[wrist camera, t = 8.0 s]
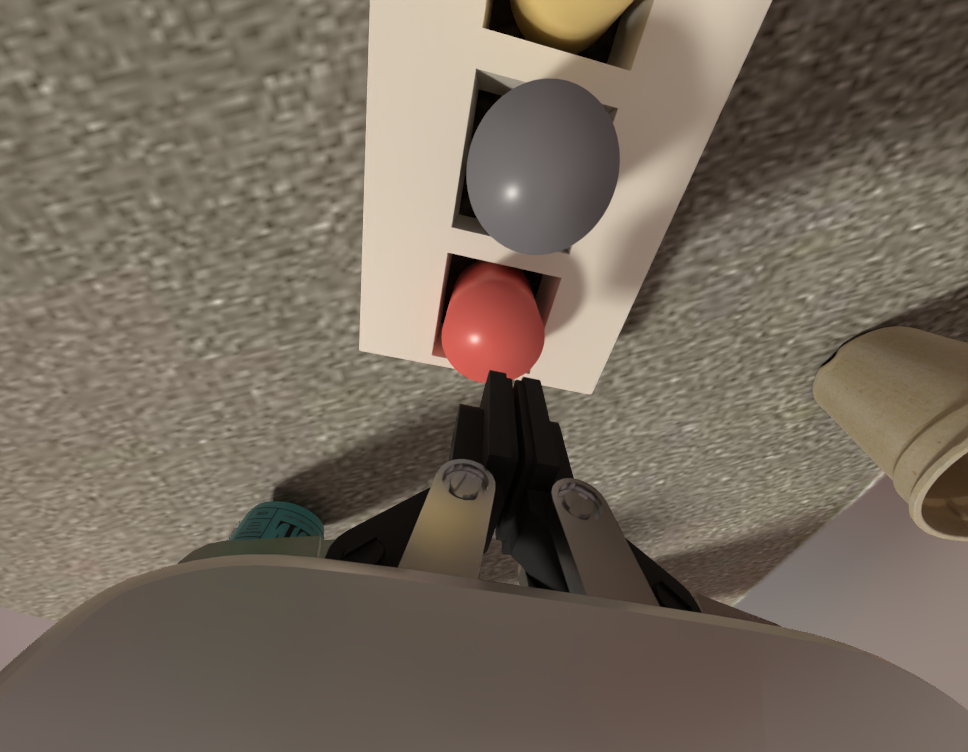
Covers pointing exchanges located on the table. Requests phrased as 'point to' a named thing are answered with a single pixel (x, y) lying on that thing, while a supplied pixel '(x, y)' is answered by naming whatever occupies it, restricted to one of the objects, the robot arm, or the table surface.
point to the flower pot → (907, 417)
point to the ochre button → (566, 21)
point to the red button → (492, 323)
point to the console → (445, 147)
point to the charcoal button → (543, 166)
